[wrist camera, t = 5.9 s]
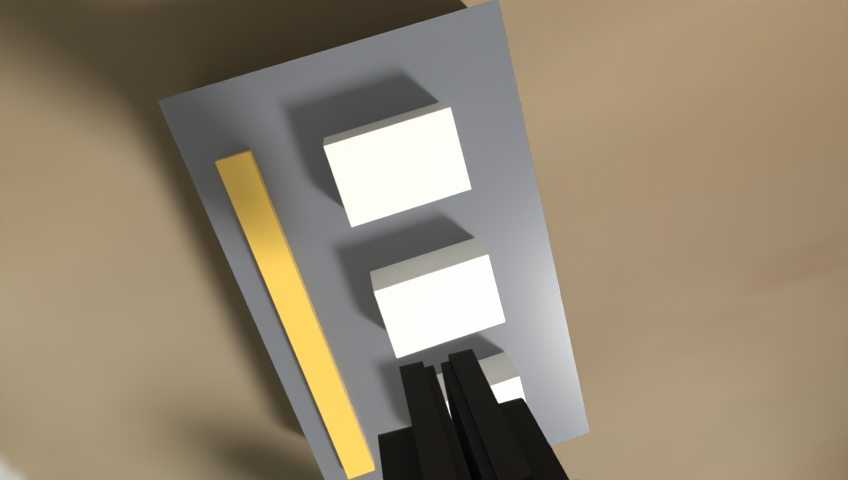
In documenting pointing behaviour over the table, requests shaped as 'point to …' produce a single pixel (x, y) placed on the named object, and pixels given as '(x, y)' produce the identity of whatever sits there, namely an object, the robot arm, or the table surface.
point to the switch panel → (385, 227)
